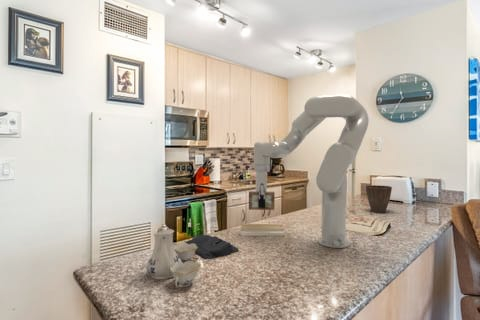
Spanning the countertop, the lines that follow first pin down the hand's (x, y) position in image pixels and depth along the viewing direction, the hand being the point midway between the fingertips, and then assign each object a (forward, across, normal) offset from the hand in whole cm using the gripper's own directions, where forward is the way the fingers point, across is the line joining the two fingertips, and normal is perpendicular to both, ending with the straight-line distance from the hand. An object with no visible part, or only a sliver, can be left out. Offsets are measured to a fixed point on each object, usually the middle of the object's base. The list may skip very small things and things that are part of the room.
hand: (261, 206), depth 134 cm
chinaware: (+13, +46, -30) cm, 56 cm away
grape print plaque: (+13, -13, +49) cm, 53 cm away
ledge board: (+12, 0, 0) cm, 12 cm away
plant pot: (+12, -46, +75) cm, 89 cm away
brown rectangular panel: (+1, 0, 0) cm, 1 cm away
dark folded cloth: (+13, +23, -22) cm, 34 cm away
